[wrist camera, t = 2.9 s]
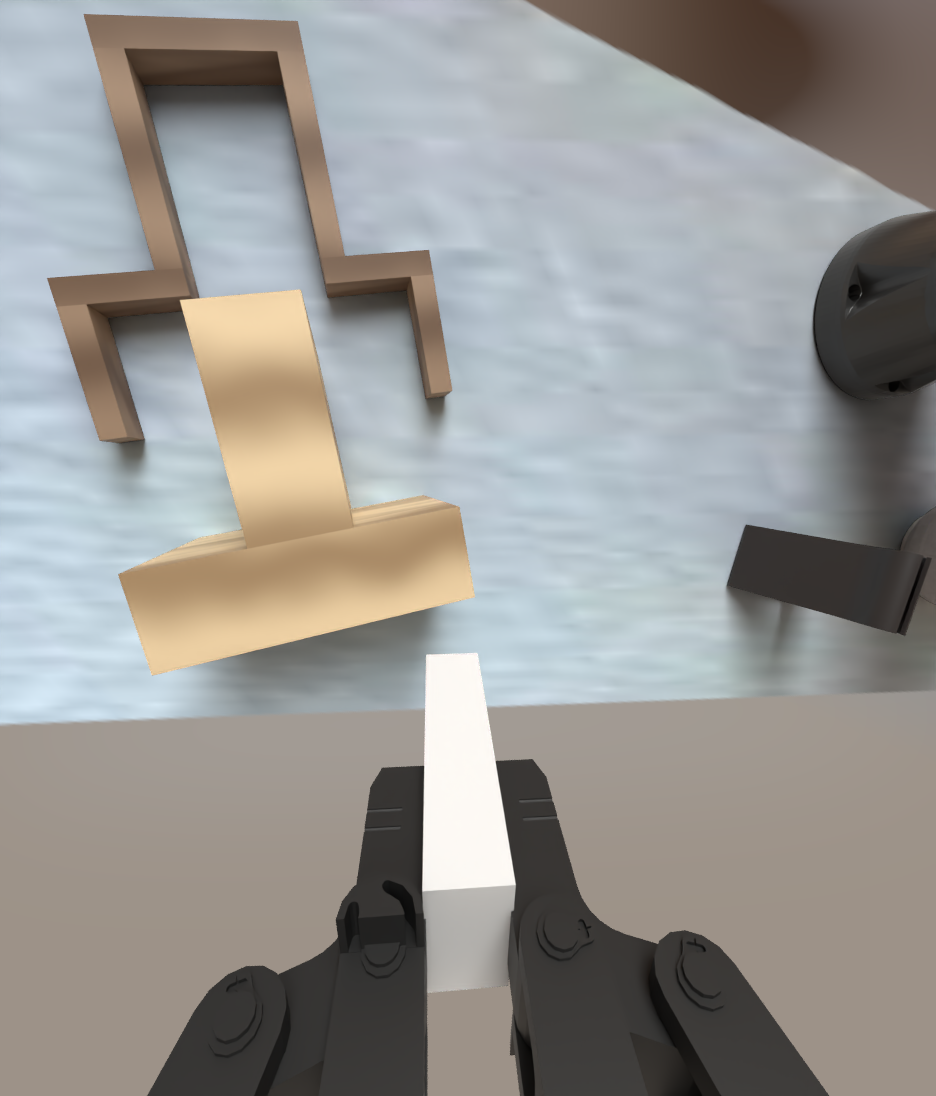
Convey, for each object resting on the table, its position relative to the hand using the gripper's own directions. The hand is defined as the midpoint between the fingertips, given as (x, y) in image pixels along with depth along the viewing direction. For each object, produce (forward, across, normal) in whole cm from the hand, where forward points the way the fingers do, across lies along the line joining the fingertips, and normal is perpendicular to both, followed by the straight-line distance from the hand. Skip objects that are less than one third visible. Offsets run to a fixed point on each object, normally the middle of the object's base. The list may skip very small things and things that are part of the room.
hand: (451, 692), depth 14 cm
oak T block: (+23, -10, +2) cm, 24 cm away
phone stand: (+28, +32, -8) cm, 44 cm away
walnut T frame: (+25, -12, +15) cm, 31 cm away
